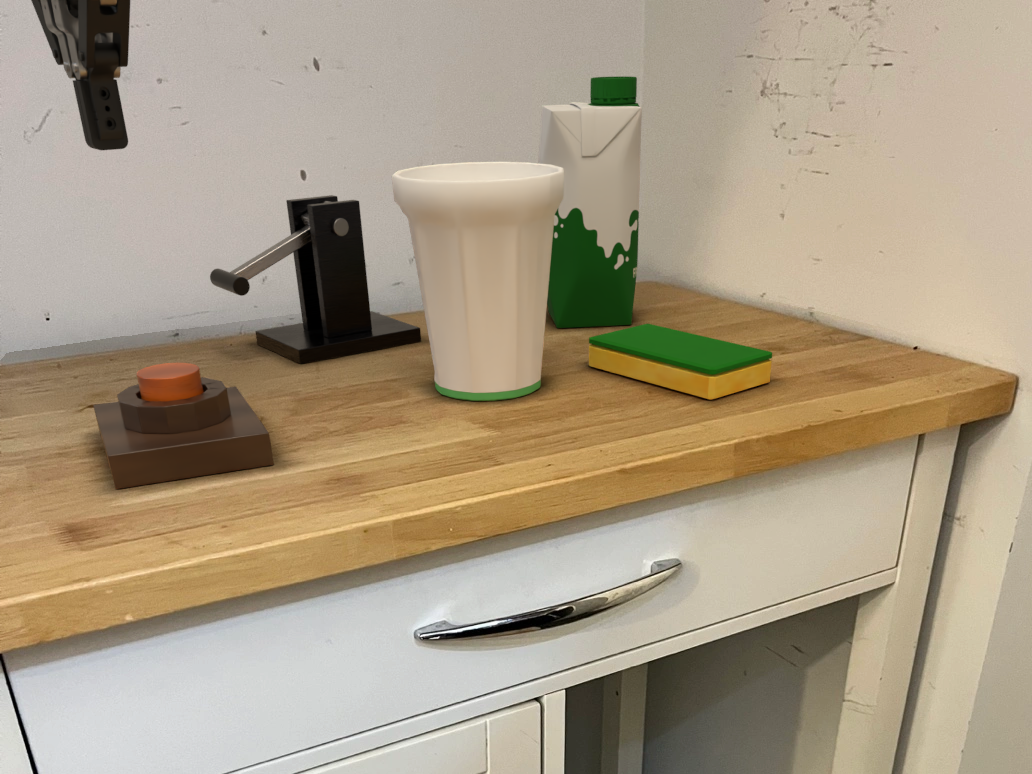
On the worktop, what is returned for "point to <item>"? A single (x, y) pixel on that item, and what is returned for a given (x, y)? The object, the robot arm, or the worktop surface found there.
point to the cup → (483, 270)
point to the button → (169, 382)
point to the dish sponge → (680, 360)
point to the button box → (181, 435)
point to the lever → (261, 261)
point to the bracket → (333, 290)
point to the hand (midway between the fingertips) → (108, 148)
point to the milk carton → (595, 204)
